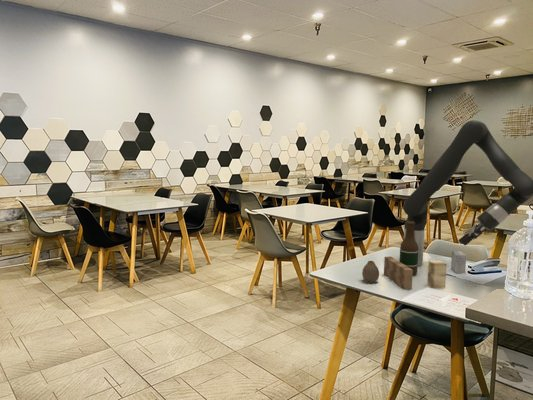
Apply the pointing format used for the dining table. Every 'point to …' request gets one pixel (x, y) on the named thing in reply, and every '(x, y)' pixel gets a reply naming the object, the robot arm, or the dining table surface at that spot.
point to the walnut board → (398, 272)
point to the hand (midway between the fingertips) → (461, 243)
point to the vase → (370, 272)
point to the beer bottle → (409, 249)
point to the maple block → (437, 274)
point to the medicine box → (458, 262)
